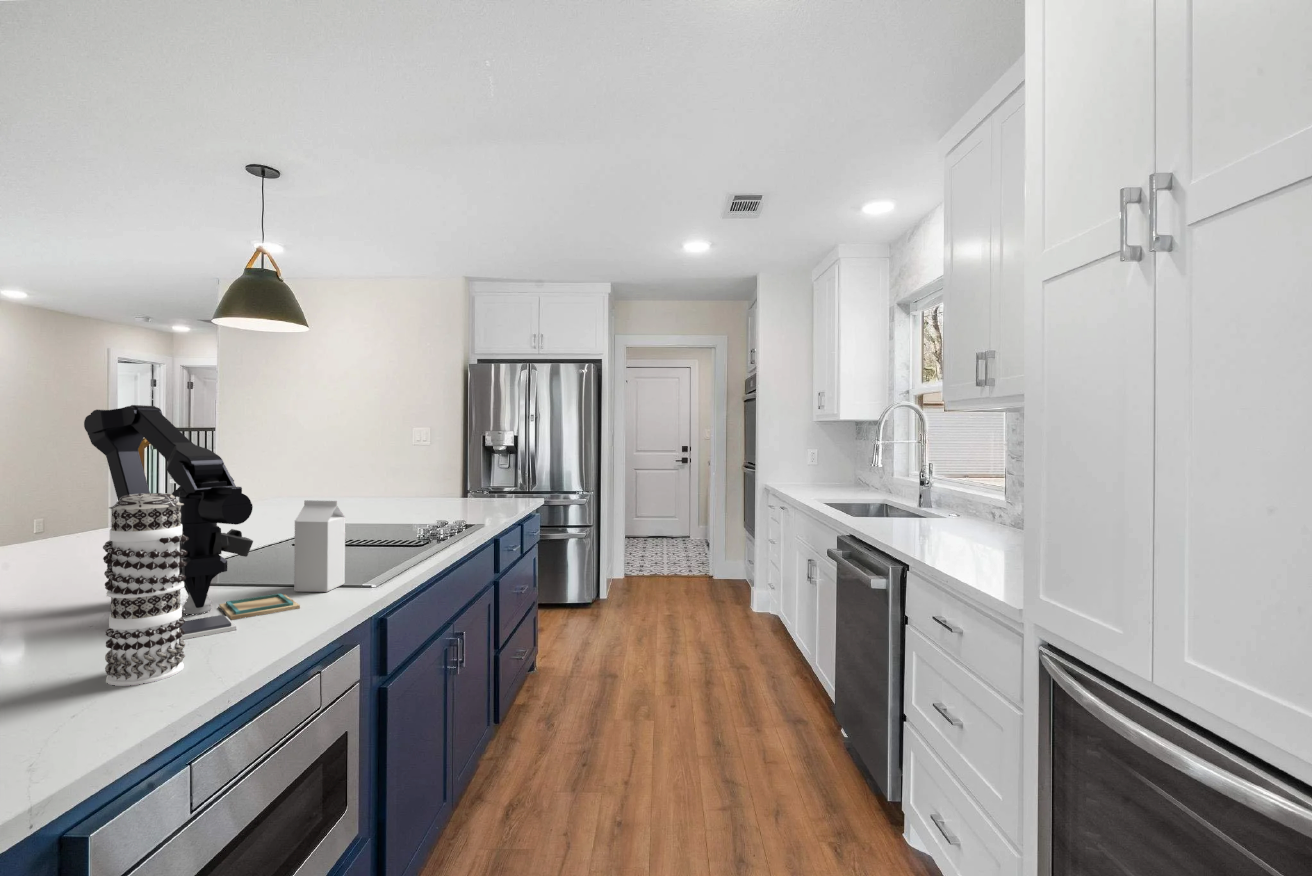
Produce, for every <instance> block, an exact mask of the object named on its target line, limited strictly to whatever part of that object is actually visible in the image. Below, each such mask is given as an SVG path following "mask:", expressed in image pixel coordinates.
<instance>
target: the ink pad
mask: <svg viewBox="0 0 1312 876" xmlns="http://www.w3.org/2000/svg"><path fill="white" fill-rule="evenodd" d="M180 628H183V630H184V631H185V634H184V635H182V637H181V638H180V639H182V640H183V641H184V640H188V639H192V638H193V637H194V638H199V637H203V636H204V635H205V636H209V635H215V633H216V634H221V633H226V632H232V631H237V625H236V624H235V623H234V622H233V620H231V619H230V618H229V617H228V616H227V615H226V616H225V614H220V615H212V616H207V617H201V618H195V619H188V620H185V623H184V624H183V625H182V626H181V627H180Z"/></svg>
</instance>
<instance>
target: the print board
mask: <svg viewBox="0 0 1312 876" xmlns="http://www.w3.org/2000/svg"><path fill="white" fill-rule="evenodd" d="M218 605H219V609H220V610H221V609H222V610H223V611H224V612H225V613H224V612H223V611H222V610H221V611H222V612H223V613H224V615H226V616H227V617H228V618H229V619H230V620H231V621H234V620H239V619H240V620H241V619H246V618H251V617H256V615H258V616H262V615H269V614H273V613H281V612H286V611H292V610H298V609H301V605H300V604H299V603H297V602H296V601H295V600H293V599H292V598H290V597H289V596H288V595H287V594H285V593H283V594H282V593H281V592H280V593H274V594H268V595H267V594H266V595H260V596H255V597H249V598H247V597H246V598H240V599H235V600H228V601H225V602H224V603H219V604H218ZM245 617H246V618H245Z"/></svg>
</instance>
